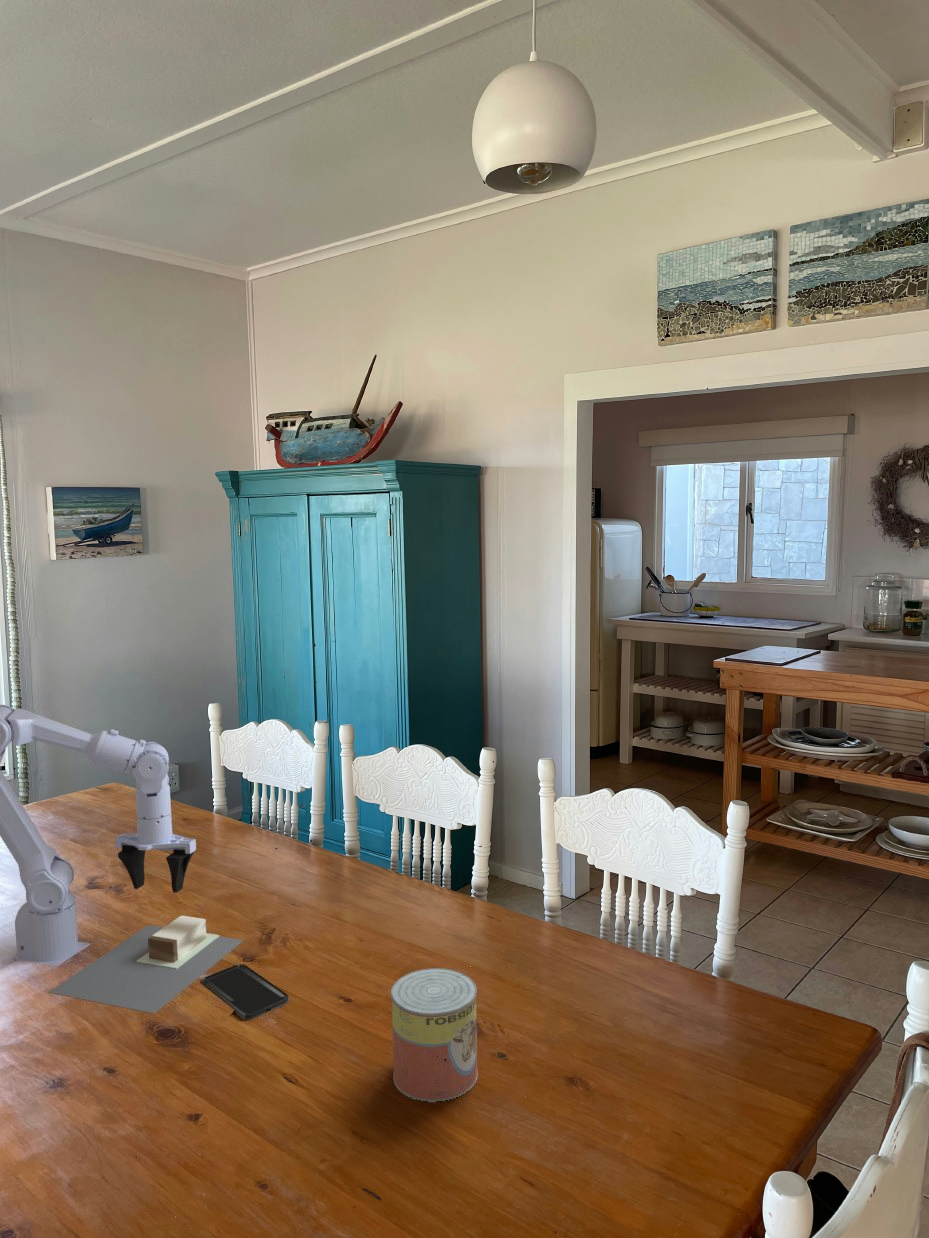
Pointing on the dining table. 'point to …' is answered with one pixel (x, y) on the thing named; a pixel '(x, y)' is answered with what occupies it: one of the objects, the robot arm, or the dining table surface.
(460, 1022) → the canned food
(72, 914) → the robot arm
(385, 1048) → the dining table surface
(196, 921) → the card box
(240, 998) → the phone
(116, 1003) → the mat
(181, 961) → the pad
